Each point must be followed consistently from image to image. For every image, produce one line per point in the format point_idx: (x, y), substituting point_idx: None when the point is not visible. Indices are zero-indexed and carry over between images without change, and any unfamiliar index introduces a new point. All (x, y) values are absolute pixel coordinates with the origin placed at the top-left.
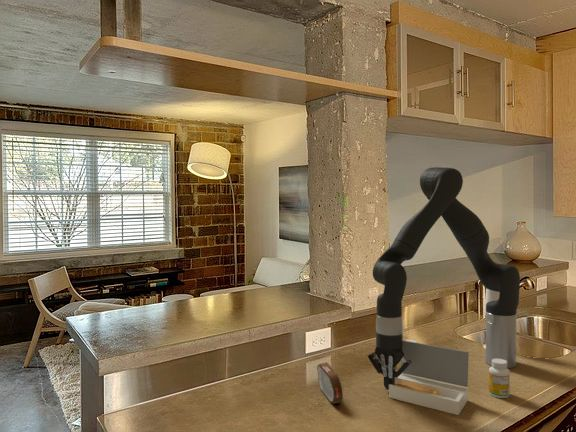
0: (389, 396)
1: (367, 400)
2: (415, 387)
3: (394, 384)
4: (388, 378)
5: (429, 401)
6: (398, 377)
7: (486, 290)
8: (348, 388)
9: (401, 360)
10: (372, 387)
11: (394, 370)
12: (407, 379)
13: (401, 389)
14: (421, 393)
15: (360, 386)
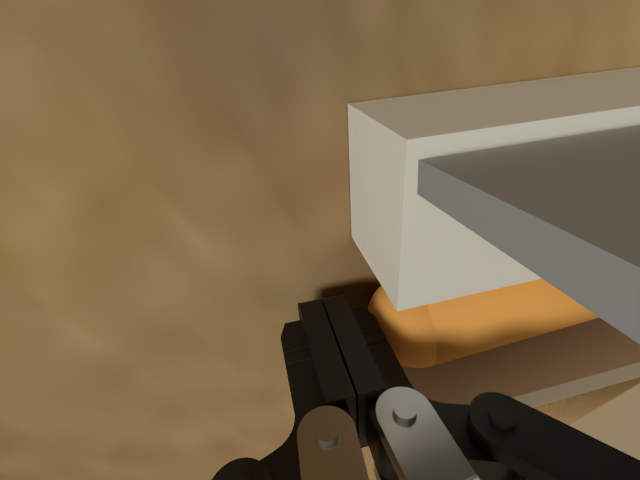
0: None
1: (267, 455)
2: (583, 311)
3: (379, 332)
4: (364, 441)
5: None
6: (410, 288)
7: None
8: (30, 455)
9: (626, 320)
10: (155, 334)
11: (451, 471)
12: (517, 263)
13: None
14: (629, 376)
15: (62, 384)
